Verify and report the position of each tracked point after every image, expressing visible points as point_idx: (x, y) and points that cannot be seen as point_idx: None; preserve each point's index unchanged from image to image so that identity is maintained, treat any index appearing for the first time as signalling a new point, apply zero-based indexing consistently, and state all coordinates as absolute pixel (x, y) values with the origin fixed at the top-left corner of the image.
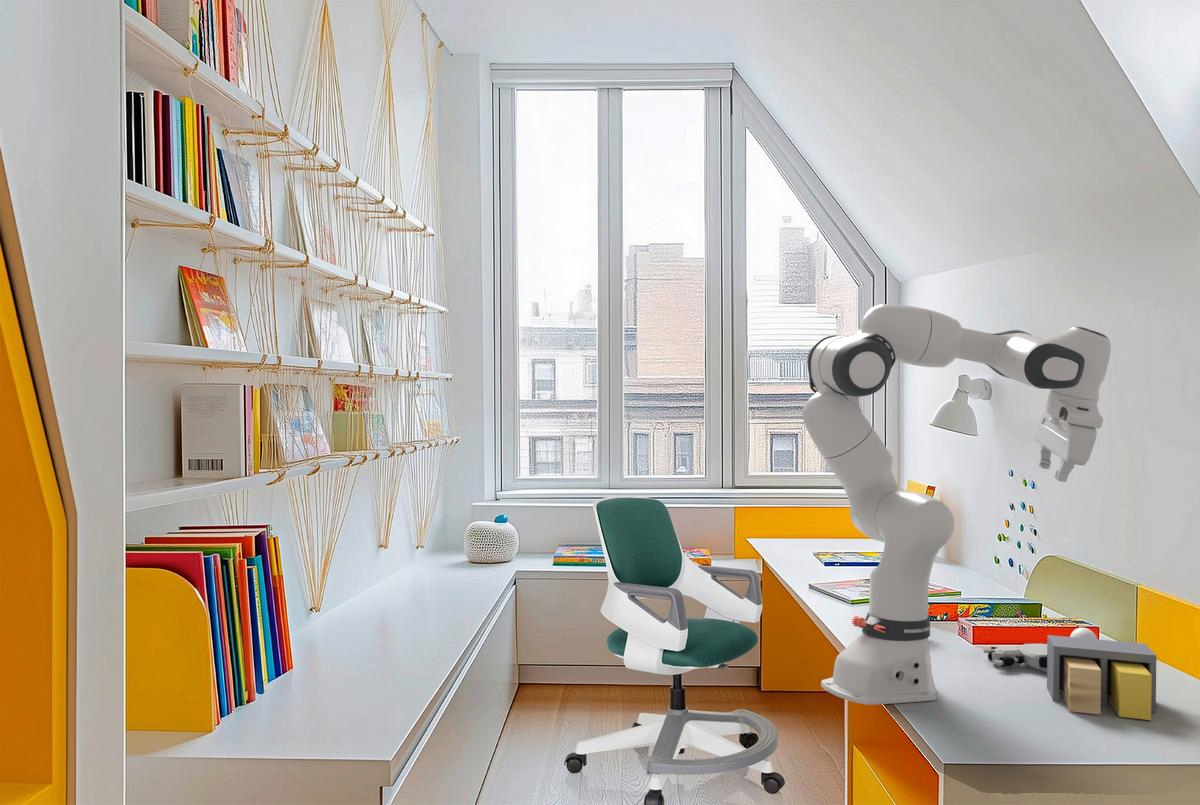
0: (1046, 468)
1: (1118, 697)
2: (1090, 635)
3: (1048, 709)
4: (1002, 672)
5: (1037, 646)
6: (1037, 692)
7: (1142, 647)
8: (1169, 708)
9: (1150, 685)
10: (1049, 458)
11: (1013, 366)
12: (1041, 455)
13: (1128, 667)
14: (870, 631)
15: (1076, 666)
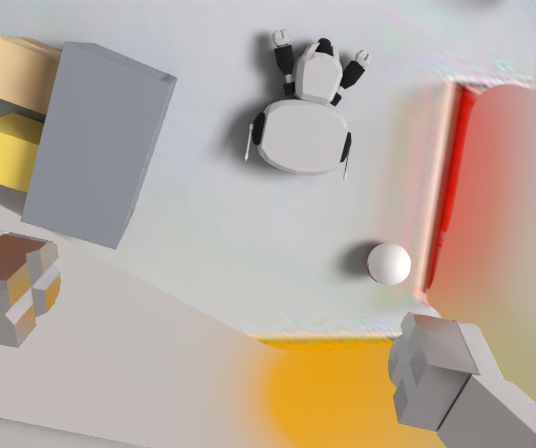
0: (393, 345)
1: (9, 119)
2: (376, 272)
3: (44, 7)
4: (272, 42)
5: (323, 143)
6: (148, 44)
7: (83, 228)
8: None
9: None
10: (451, 445)
11: None
12: (500, 405)
13: (18, 161)
14: None
15: (3, 53)
